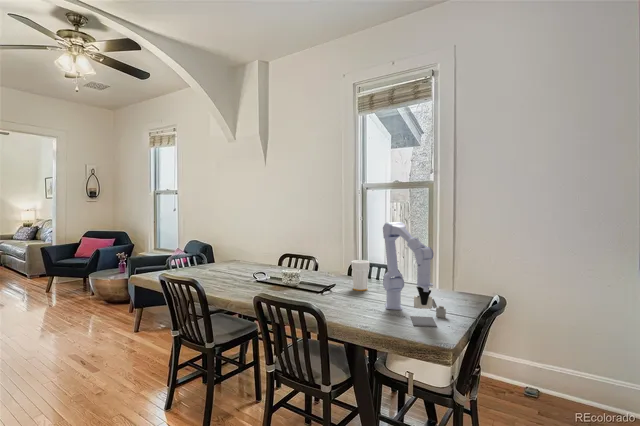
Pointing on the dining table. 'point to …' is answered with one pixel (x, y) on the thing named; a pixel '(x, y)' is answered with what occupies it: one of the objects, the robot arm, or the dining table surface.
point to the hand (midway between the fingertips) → (423, 303)
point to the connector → (418, 304)
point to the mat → (423, 321)
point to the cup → (360, 274)
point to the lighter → (439, 310)
